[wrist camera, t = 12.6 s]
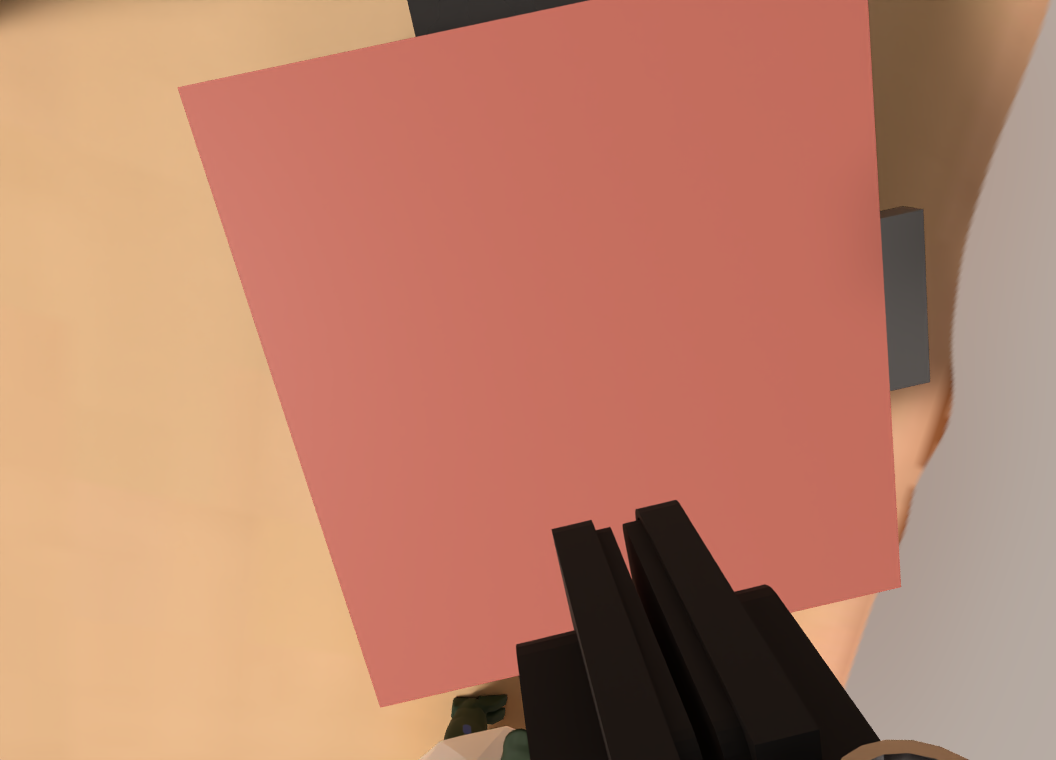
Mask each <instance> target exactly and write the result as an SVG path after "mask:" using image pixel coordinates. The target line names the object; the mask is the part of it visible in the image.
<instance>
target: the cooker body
mask: <svg viewBox="0 0 1056 760" xmlns="http://www.w3.org/2000/svg"><path fill="white" fill-rule="evenodd" d="M407 1H408V5H409V10H410V14H411V18H412V23H413V27H414V31H415V36H416V37H418V36H423V35H428V34H433V33H437V32H442V31H447V30H451V29H456V28H461V27H466V26H470V25H475V24H480V23H484V22H489V21H494V20H499V19H503V18H508V17H513V16H518V15H522V14H527V13H532V12H536V11H541V10H546V9H551V8H555V7H560V6H565V5H569V4H574V3H579V2H584V1H588V0H407Z"/></svg>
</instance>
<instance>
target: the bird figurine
mask: <svg viewBox="0 0 1056 760" xmlns="http://www.w3.org/2000/svg"><path fill="white" fill-rule="evenodd" d="M506 702H507V695H491V696H479V697H478V699H475V698H470V699H469V698H454V700H453V705H452V714H451V717H452V720H451V721H450V724H449V726H448V728H447V730H446V733H445V737H444V740H442V741H440V742H439V743H437V744H436V745H435V746H434V747H433V748H432V749H430V750H429V751H428V752H427V753H426V754H425V755H423V756H422V757H421V758H420V759H419V760H530V755H529V747H528V739H527V732H526V730H525V729H514V728H511V727H509V726H504V727H499V728H495V729H490V730H487V724H494V723H496V722H498V721H500V720H502V719H503V718H504V715H505V708H502V707H503V706H504V705H506Z"/></svg>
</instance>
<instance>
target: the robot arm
mask: <svg viewBox="0 0 1056 760" xmlns="http://www.w3.org/2000/svg"><path fill="white" fill-rule="evenodd" d="M635 518H636V521H632V522H628V523H624V524H623V525H622V526H623V534H624V540H625V545H626V550H627V555H628V561H629V566H630V571H631V576H632V578H631V576H630V573H629V571H628V568H627V566H626V563H625V561H624V559H623V556H622V554H621V551H620V549H619V546H618V544H617V541H616V539H615V536H614V534H613V532H612V529H611V527H607V528H603V529H599V530H596V529H595V527H594V524H593V522H592V520H588V521H584V522H580V523H575V524H571V525H567V526H563V527H559V528H554V529H551V530H552V535H553V539H554V544H555V548H556V553H557V557H558V562H559V566H560V570H561V575H562V579H563V584H564V588H565V593H566V597H567V601H568V606H569V610H570V615H571V619H572V623H573V628H574V631H569V632H565V633H561V634H557V635H553V636H549V637H545V638H540V639H536V640H532V641H528V642H524V643H520V644H516V654H517V663H518V670H519V678H520V686H521V693H522V701H523V709H524V716H525V724H526V732H527V739H528V747H529V755H530V760H968V759H966V758H964V757H962V756H960V755H958V754H955V753H953V752H951V751H949V750H947V749H944V748H942V747H940V746H935V745H931V744H926V743H923V742H918V741H914V740H883V741H880V739H879V738H878V736H877V735H876V734H875V732H874V731H873V729H872V728H871V726H870V725H869V724H868V722H867V721H866V719H865V718H864V717H863V715H862V714H861V712H860V711H859V709H858V708H857V707H856V705H855V704H854V702H853V701H852V700H851V698H850V697H849V695H848V694H847V692H846V691H845V690H844V688H843V687H842V685H841V684H840V683H839V681H838V680H837V678H836V677H835V675H834V674H833V673H832V671H831V670H830V668H829V667H828V666H827V664H826V663H825V661H824V660H823V658H822V657H821V656H820V654H819V653H818V651H817V650H816V649H815V647H814V646H813V644H812V643H811V641H810V640H809V639H808V637H807V636H806V634H805V633H804V632H803V630H802V629H801V627H800V626H799V624H798V623H797V622H796V620H795V619H794V617H793V616H792V615H791V613H790V612H789V610H788V609H787V608H786V606H785V605H784V603H783V602H782V600H781V599H780V598H779V596H778V595H777V593H776V592H775V591H774V590H773V589H772V588H771V587H770V586H768V585H766V584H764V585H760V586H756V587H752V588H748V589H743V590H739V591H735V592H734V590H733V589H732V587H731V586H730V584H729V582H728V581H727V579H726V578H725V576H724V574H723V573H722V571H721V569H720V568H719V566H718V565H717V563H716V561H715V560H714V558H713V556H712V555H711V553H710V552H709V550H708V548H707V547H706V545H705V544H704V542H703V540H702V539H701V537H700V535H699V534H698V532H697V531H696V529H695V527H694V526H693V524H692V522H691V521H690V519H689V518H688V516H687V514H686V513H685V511H684V510H683V508H682V506H681V505H680V503H679V502H678V501H677V500H672V501H668V502H664V503H660V504H656V505H651V506H647V507H643V508H639V509H636V510H635Z"/></svg>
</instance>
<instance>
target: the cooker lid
mask: <svg viewBox="0 0 1056 760" xmlns="http://www.w3.org/2000/svg"><path fill="white" fill-rule="evenodd" d="M178 90H179V93H180V97H181V100H182V103H183V106H184V109H185V112H186V115H187V118H188V121H189V124H190V127H191V130H192V133H193V136H194V139H195V142H196V145H197V148H198V152H199V155H200V158H201V161H202V164H203V167H204V170H205V173H206V176H207V179H208V182H209V185H210V188H211V191H212V194H213V197H214V200H215V203H216V207H217V210H218V213H219V216H220V219H221V222H222V225H223V228H224V231H225V234H226V237H227V240H228V243H229V246H230V249H231V252H232V255H233V259H234V262H235V265H236V268H237V271H238V274H239V277H240V280H241V283H242V286H243V289H244V292H245V295H246V298H247V301H248V304H249V307H250V310H251V314H252V317H253V320H254V323H255V326H256V329H257V332H258V335H259V338H260V341H261V344H262V347H263V350H264V353H265V356H266V359H267V362H268V365H269V369H270V372H271V375H272V378H273V381H274V384H275V387H276V390H277V393H278V396H279V399H280V402H281V405H282V408H283V411H284V414H285V417H286V420H287V424H288V427H289V430H290V433H291V436H292V439H293V442H294V445H295V448H296V451H297V454H298V457H299V460H300V463H301V466H302V469H303V472H304V476H305V479H306V482H307V485H308V488H309V491H310V494H311V497H312V500H313V503H314V506H315V509H316V512H317V515H318V518H319V521H320V524H321V527H322V531H323V534H324V537H325V540H326V543H327V546H328V549H329V552H330V555H331V558H332V561H333V564H334V567H335V570H336V573H337V576H338V579H339V582H340V586H341V589H342V592H343V595H344V598H345V601H346V604H347V607H348V610H349V613H350V616H351V619H352V622H353V625H354V628H355V631H356V634H357V638H358V641H359V644H360V647H361V650H362V653H363V656H364V659H365V662H366V665H367V668H368V671H369V674H370V677H371V680H372V683H373V686H374V689H375V693H376V696H377V699H378V702H379V705H380V707H385V706H389V705H393V704H398V703H402V702H406V701H411V700H415V699H419V698H423V697H428V696H432V695H436V694H441V693H445V692H449V691H454V690H458V689H462V688H467V687H471V686H475V685H480V684H484V683H488V682H493V681H497V680H501V679H506V678H510V677H514V676H519V670H518V663H517V654H516V644H520V643H524V642H528V641H532V640H536V639H540V638H545V637H549V636H553V635H557V634H561V633H565V632H569V631H574V628H573V623H572V619H571V615H570V610H569V606H568V601H567V597H566V593H565V588H564V584H563V579H562V575H561V570H560V566H559V562H558V557H557V553H556V548H555V544H554V539H553V535H552V530H551V529H554V528H559V527H563V526H567V525H571V524H575V523H580V522H584V521H588V520H592V522H593V524H594V527H595V529H596V530H599V529H603V528H607V527H611V529H612V532H613V534H614V536H615V539H616V541H617V544H618V546H619V549H620V551H621V554H622V556H623V559H624V561H625V563H626V566H627V568H628V571H629V573H630V576H631V571H630V566H629V561H628V555H627V550H626V545H625V540H624V534H623V526H622V525H623V524H624V523H628V522H632V521H636V518H635V510H636V509H639V508H643V507H647V506H651V505H656V504H660V503H664V502H668V501H672V500H677V501H678V502H679V503H680V505H681V506H682V508H683V510H684V511H685V513H686V514H687V516H688V518H689V519H690V521H691V522H692V524H693V526H694V527H695V529H696V531H697V532H698V534H699V535H700V537H701V539H702V540H703V542H704V544H705V545H706V547H707V548H708V550H709V552H710V553H711V555H712V556H713V558H714V560H715V561H716V563H717V565H718V566H719V568H720V569H721V571H722V573H723V574H724V576H725V578H726V579H727V581H728V582H729V584H730V586H731V587H732V589H733V590H734V592H735V591H739V590H743V589H748V588H752V587H756V586H760V585H764V584H766V585H768V586H770V587H771V588H772V589H773V590H774V591H775V592H776V593H777V595H778V596H779V598H780V599H781V600H782V602H783V603H784V605H785V606H786V608H787V609H788V610H789V612H790V613H791V612H795V611H800V610H804V609H808V608H813V607H817V606H821V605H826V604H830V603H834V602H839V601H843V600H847V599H852V598H856V597H860V596H865V595H869V594H873V593H878V592H882V591H886V590H890V589H895V588H899V587H901V579H900V562H899V543H898V526H897V508H896V490H895V473H894V455H893V437H892V419H891V402H890V391H892V390H897V389H901V388H906V387H910V386H915V385H919V384H923V383H928V382H930V370H929V344H928V318H927V293H926V267H925V241H924V215H923V209H918V208H911V207H904V206H902V207H897V208H893V209H888V210H884V211H880V207H879V189H878V171H877V154H876V136H875V118H874V100H873V83H872V65H871V47H870V30H869V12H868V0H588V1H584V2H579V3H574V4H569V5H565V6H560V7H555V8H551V9H546V10H541V11H536V12H532V13H527V14H522V15H518V16H513V17H508V18H503V19H499V20H494V21H489V22H484V23H480V24H475V25H470V26H466V27H461V28H456V29H451V30H447V31H442V32H437V33H433V34H428V35H423V36H418V37H414V38H409V39H404V40H399V41H395V42H390V43H385V44H381V45H376V46H371V47H366V48H362V49H357V50H352V51H348V52H343V53H338V54H333V55H329V56H324V57H319V58H314V59H310V60H305V61H300V62H296V63H291V64H286V65H281V66H277V67H272V68H267V69H263V70H258V71H253V72H248V73H244V74H239V75H234V76H229V77H225V78H220V79H215V80H211V81H206V82H201V83H196V84H192V85H187V86H182V87H178ZM631 578H632V576H631Z"/></svg>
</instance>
